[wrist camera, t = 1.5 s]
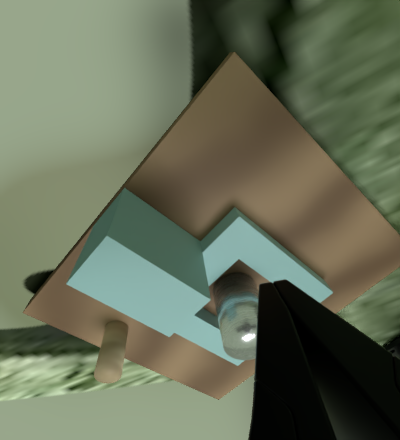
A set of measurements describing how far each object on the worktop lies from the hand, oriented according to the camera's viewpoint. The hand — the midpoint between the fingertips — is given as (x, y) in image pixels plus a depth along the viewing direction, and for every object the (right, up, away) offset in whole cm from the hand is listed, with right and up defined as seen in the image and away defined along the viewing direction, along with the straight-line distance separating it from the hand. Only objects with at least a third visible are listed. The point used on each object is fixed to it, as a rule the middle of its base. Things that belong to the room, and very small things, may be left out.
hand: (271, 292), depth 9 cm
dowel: (-8, -5, +12) cm, 15 cm away
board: (-1, -1, +12) cm, 12 cm away
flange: (-2, -1, +10) cm, 10 cm away
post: (0, -3, +11) cm, 11 cm away
